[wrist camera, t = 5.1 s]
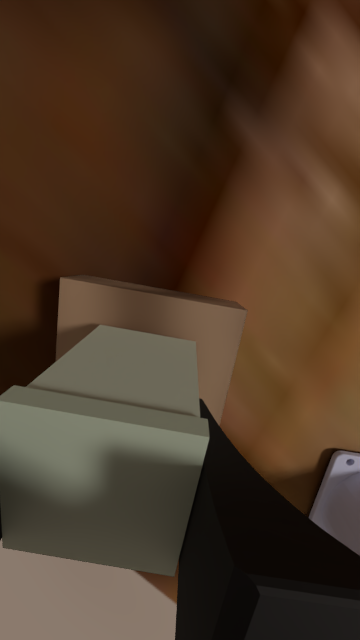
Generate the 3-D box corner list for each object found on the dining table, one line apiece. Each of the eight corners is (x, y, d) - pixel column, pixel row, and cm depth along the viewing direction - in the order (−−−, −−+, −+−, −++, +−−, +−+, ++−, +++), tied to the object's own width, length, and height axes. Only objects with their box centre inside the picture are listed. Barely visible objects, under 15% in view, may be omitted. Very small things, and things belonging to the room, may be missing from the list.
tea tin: (199, 339, 11) (209, 437, 5) (181, 424, 13) (174, 576, 7) (97, 321, 11) (-6, 400, 5) (90, 408, 13) (2, 547, 7)
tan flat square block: (234, 300, 14) (247, 310, 12) (205, 428, 17) (209, 464, 14) (85, 274, 14) (59, 277, 11) (75, 407, 16) (51, 438, 13)
